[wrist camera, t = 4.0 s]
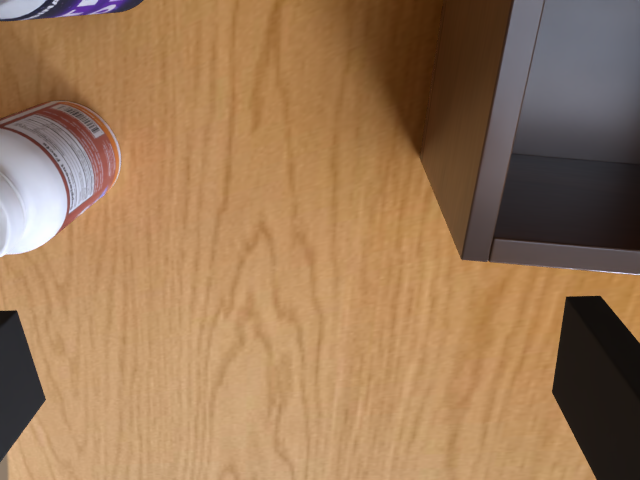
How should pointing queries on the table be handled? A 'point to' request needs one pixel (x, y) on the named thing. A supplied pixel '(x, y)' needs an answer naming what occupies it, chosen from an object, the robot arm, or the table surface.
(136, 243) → the table surface
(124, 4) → the beverage can
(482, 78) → the chest
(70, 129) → the pill bottle
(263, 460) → the table surface
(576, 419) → the robot arm
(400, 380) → the table surface
